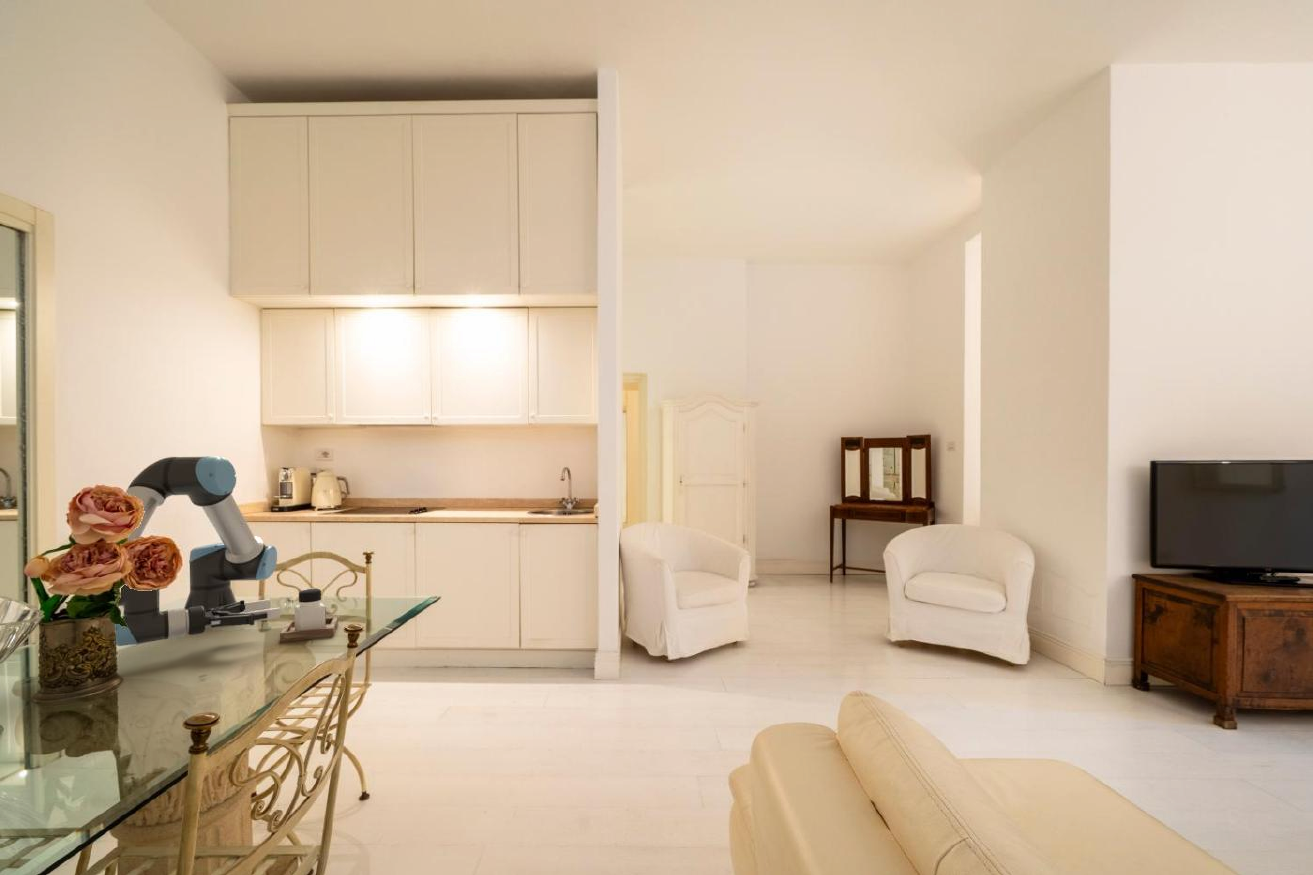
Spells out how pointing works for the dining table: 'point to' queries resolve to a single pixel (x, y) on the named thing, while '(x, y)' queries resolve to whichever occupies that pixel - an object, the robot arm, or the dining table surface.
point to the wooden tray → (308, 631)
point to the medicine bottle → (310, 610)
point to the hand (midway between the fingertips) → (275, 607)
